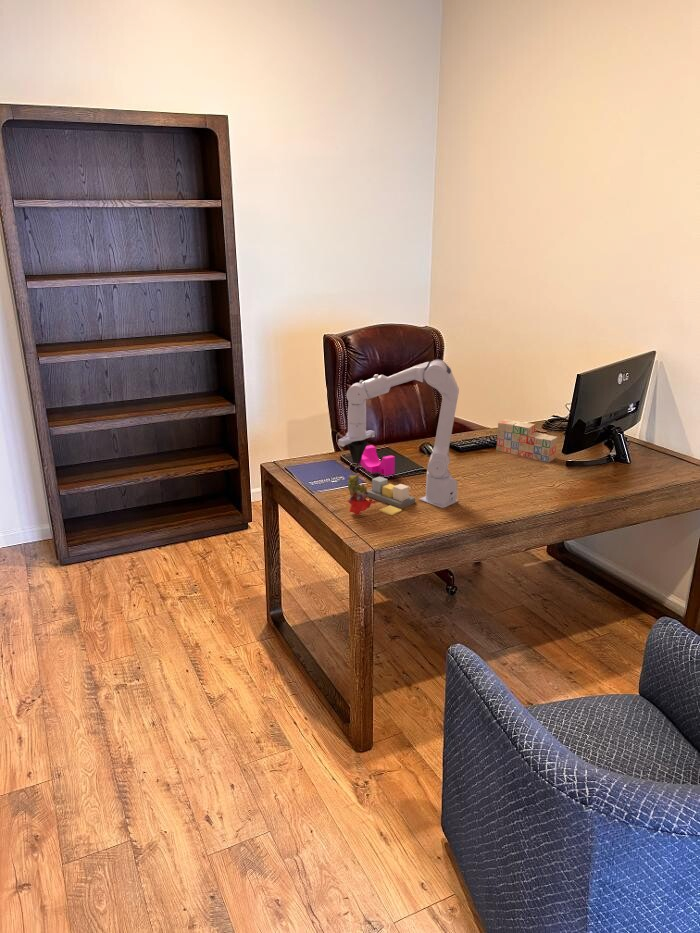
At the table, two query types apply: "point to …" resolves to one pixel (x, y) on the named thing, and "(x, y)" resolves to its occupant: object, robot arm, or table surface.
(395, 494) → the cream key
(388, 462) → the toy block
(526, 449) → the stack of blocks
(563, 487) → the table surface
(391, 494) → the yellow cube
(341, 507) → the table surface
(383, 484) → the gray cube
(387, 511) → the tile
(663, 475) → the table surface
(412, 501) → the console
